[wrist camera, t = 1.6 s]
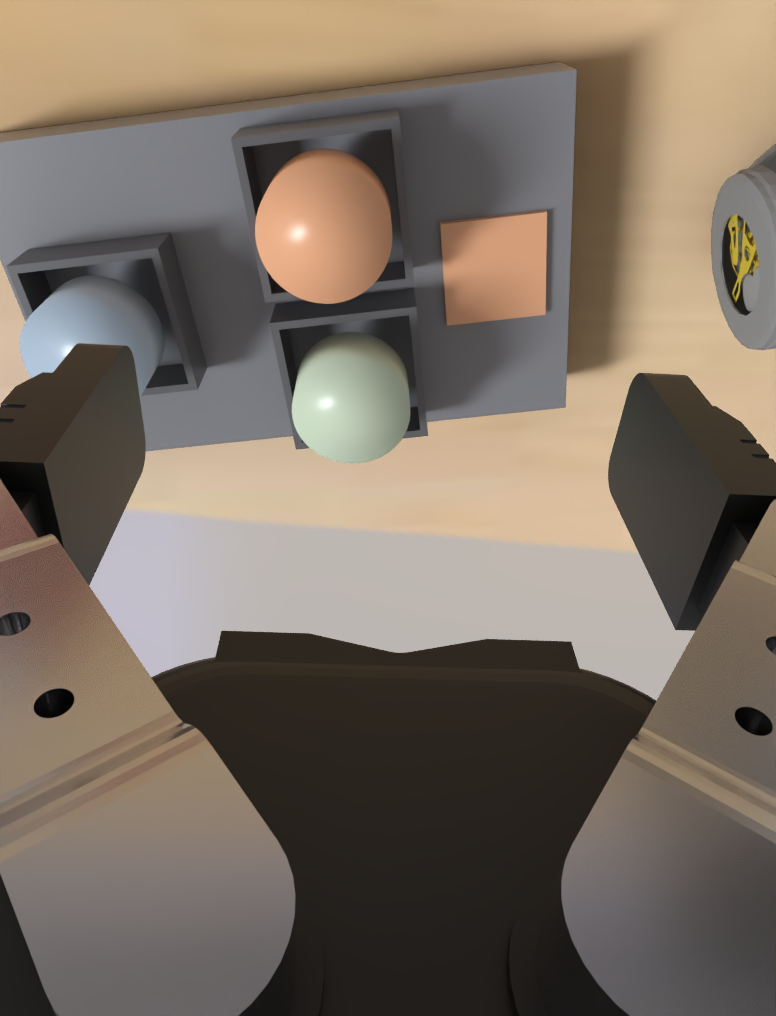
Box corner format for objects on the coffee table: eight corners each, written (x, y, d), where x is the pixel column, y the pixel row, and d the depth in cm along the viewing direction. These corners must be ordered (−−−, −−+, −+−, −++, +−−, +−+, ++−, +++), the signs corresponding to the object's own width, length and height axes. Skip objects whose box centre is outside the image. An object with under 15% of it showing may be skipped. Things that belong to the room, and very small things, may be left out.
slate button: (144, 268, 27) (127, 291, 25) (178, 379, 29) (164, 408, 27) (26, 282, 27) (-1, 305, 25) (69, 391, 29) (48, 420, 28)
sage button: (402, 325, 28) (404, 351, 26) (412, 427, 31) (415, 457, 29) (287, 338, 28) (281, 364, 26) (307, 438, 31) (303, 468, 29)
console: (558, 61, 28) (591, 75, 24) (552, 378, 35) (576, 430, 31) (-10, 133, 29) (-74, 159, 25) (101, 425, 36) (66, 483, 32)
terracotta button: (383, 140, 24) (384, 154, 22) (396, 273, 27) (398, 296, 25) (251, 156, 25) (241, 172, 23) (277, 287, 27) (270, 310, 25)
